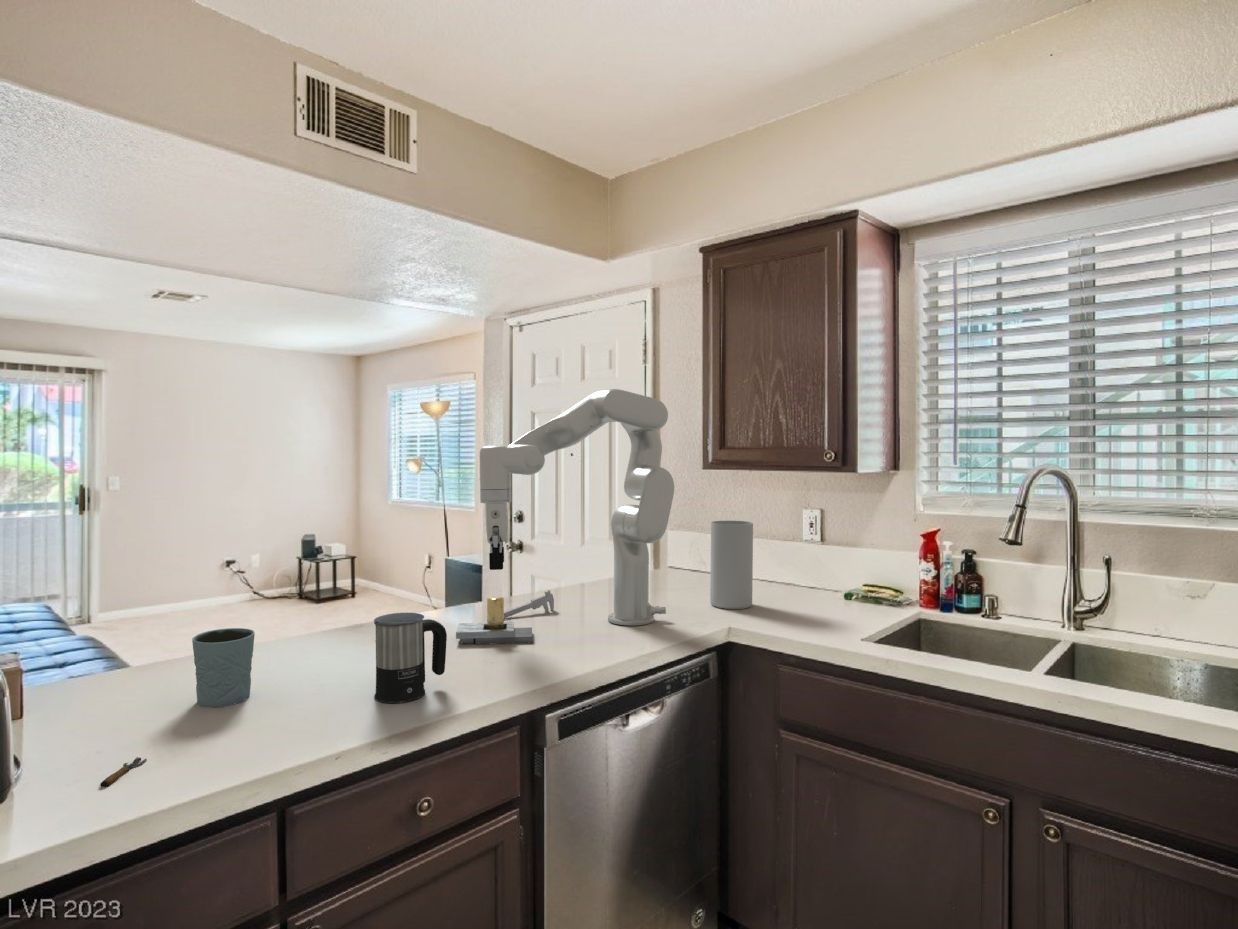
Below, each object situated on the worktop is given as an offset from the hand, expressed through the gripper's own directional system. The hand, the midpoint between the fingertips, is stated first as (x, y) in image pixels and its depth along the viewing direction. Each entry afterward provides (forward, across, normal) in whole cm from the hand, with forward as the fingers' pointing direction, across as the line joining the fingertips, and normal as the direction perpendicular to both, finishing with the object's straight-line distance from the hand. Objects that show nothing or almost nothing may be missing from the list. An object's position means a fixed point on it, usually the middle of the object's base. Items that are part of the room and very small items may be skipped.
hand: (497, 566), depth 175 cm
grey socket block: (+18, 0, +1) cm, 18 cm away
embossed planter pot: (+17, -37, +49) cm, 64 cm away
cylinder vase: (+20, +31, -68) cm, 77 cm away
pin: (+18, 0, +1) cm, 18 cm away
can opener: (+17, -67, +50) cm, 86 cm away
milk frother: (+18, -35, +18) cm, 43 cm away
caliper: (+19, +24, -6) cm, 31 cm away
